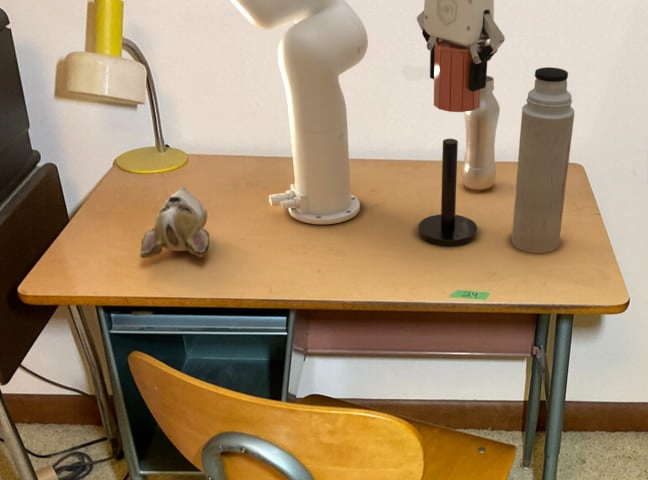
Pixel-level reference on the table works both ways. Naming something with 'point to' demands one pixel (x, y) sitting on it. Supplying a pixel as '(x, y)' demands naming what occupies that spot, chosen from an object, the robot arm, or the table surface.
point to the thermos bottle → (543, 162)
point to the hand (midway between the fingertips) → (457, 82)
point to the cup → (453, 77)
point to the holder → (448, 208)
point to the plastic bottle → (481, 141)
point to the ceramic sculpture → (178, 227)
